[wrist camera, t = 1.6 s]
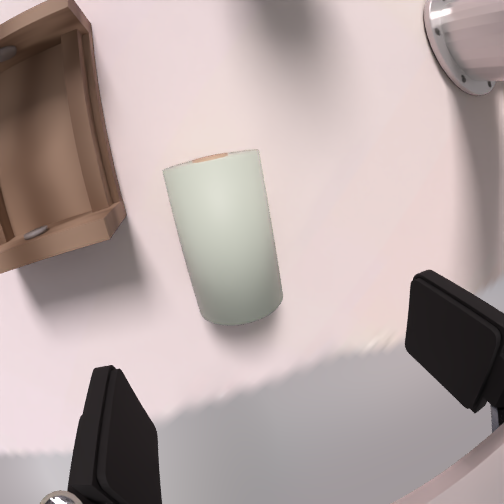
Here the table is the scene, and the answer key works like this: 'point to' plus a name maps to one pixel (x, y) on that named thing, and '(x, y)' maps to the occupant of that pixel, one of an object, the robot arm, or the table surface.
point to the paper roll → (226, 235)
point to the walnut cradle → (52, 138)
